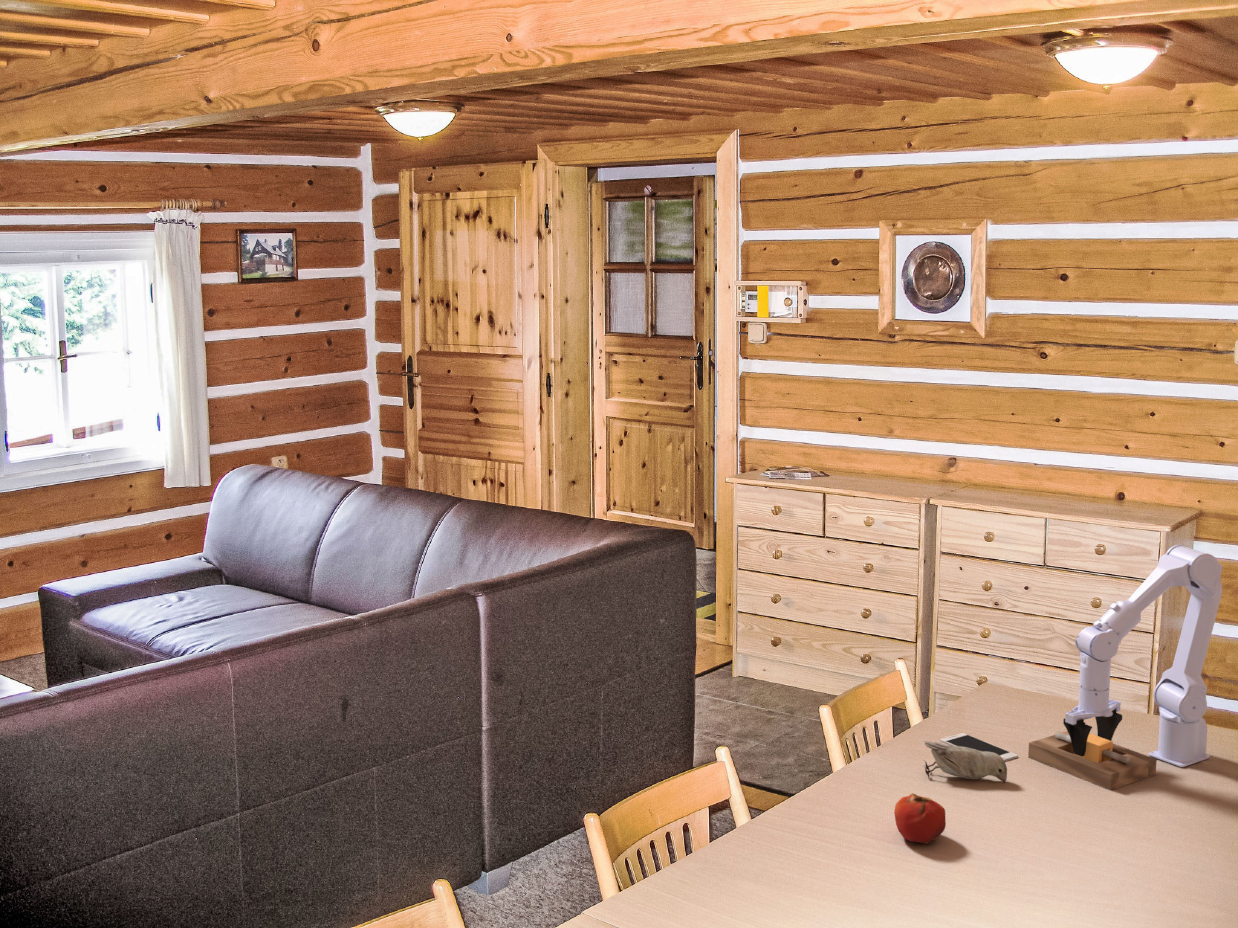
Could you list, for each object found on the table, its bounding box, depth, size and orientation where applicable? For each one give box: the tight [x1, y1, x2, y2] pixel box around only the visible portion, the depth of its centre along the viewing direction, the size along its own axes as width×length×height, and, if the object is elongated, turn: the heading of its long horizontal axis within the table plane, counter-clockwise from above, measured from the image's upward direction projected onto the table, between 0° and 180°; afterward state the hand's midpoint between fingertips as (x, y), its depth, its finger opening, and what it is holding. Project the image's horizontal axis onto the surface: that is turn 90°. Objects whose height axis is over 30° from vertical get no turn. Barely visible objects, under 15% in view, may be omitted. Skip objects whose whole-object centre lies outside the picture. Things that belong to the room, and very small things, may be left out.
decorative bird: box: [923, 740, 1008, 783], centre depth 250 cm, size 5×16×7 cm, turn 75°
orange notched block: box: [1074, 733, 1114, 763], centre depth 255 cm, size 4×6×5 cm
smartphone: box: [940, 732, 1019, 762], centre depth 266 cm, size 7×16×1 cm, turn 31°
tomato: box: [893, 792, 947, 844], centre depth 224 cm, size 9×9×8 cm
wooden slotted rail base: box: [1028, 730, 1158, 791], centre depth 256 cm, size 14×20×5 cm
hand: (1091, 750), depth 255 cm, fingers open, 7 cm apart
